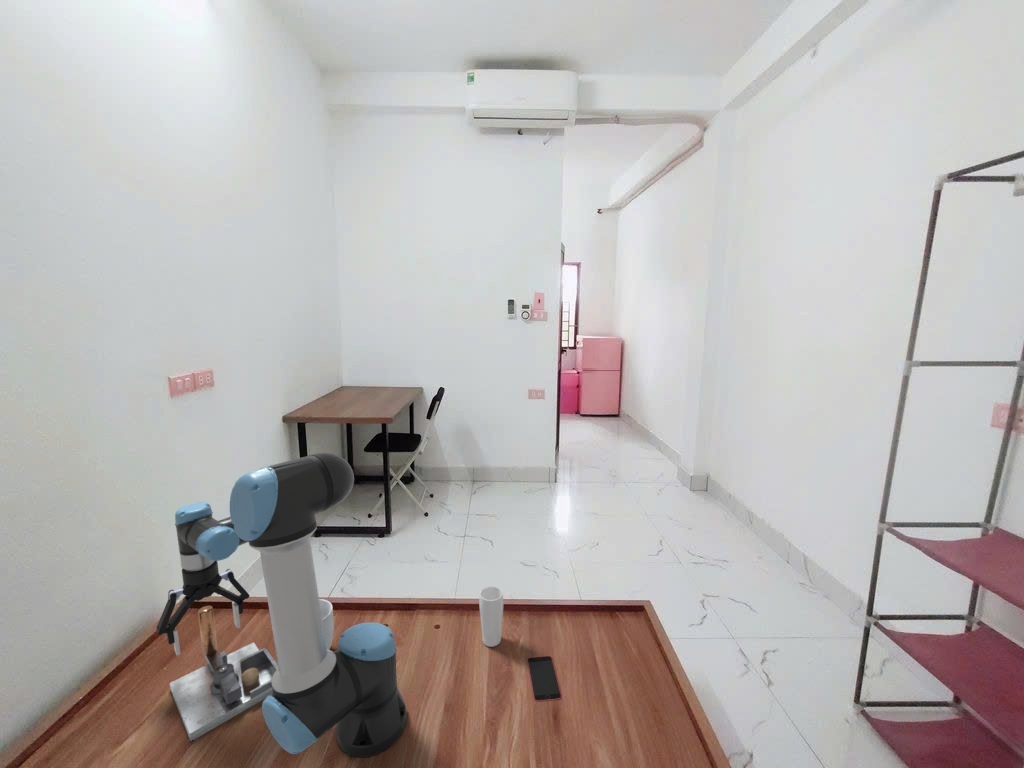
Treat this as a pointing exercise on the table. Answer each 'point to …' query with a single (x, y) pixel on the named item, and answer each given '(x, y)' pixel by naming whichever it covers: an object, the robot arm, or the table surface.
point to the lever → (217, 658)
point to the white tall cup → (491, 615)
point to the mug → (327, 621)
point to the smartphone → (543, 679)
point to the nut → (250, 679)
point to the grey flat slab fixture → (207, 704)
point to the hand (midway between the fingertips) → (208, 638)
